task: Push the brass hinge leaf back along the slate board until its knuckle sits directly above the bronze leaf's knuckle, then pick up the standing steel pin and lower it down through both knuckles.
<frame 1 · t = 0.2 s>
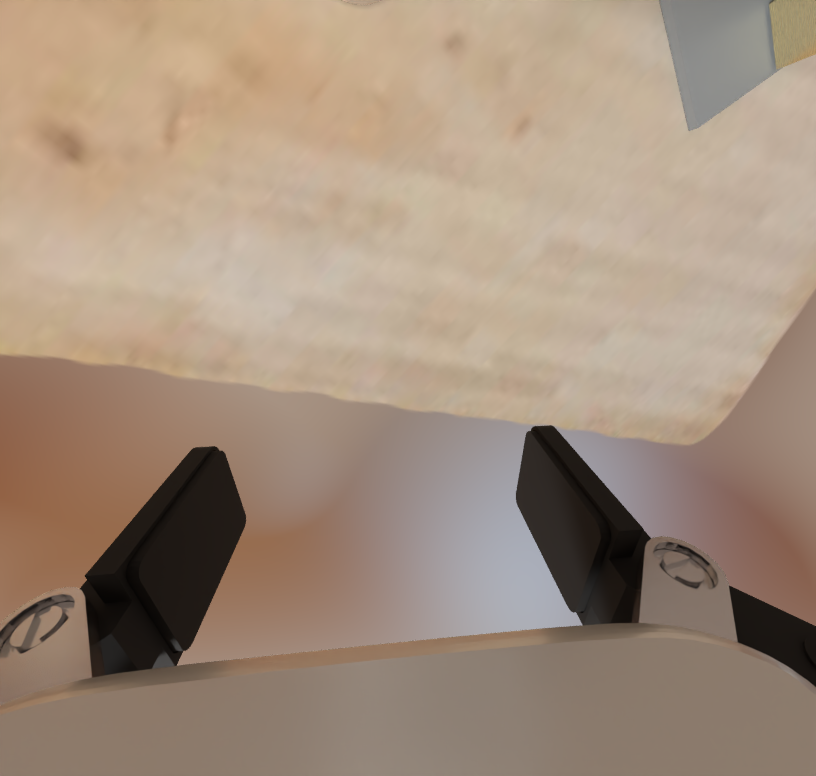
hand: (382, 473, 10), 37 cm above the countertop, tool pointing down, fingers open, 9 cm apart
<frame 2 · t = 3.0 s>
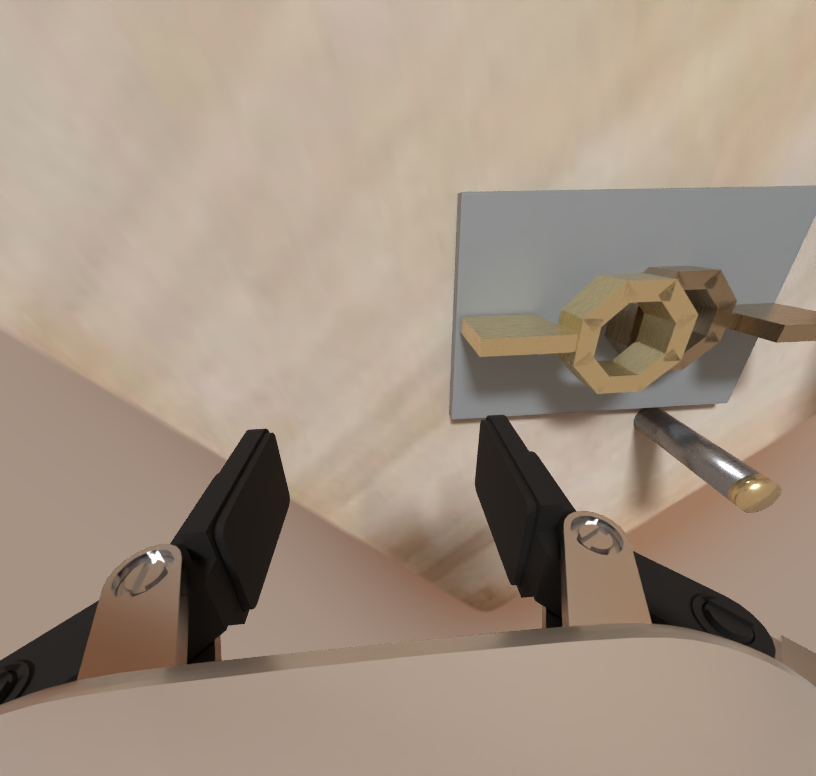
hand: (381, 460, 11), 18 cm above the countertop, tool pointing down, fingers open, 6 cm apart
slate board: (609, 313, 28), on the countertop
hinge pin: (647, 418, 33), on the countertop
loose leaf: (564, 330, 24), point 4 cm above the countertop, slide at 6.0 cm
fixed leaf: (642, 311, 28), resting on slate board
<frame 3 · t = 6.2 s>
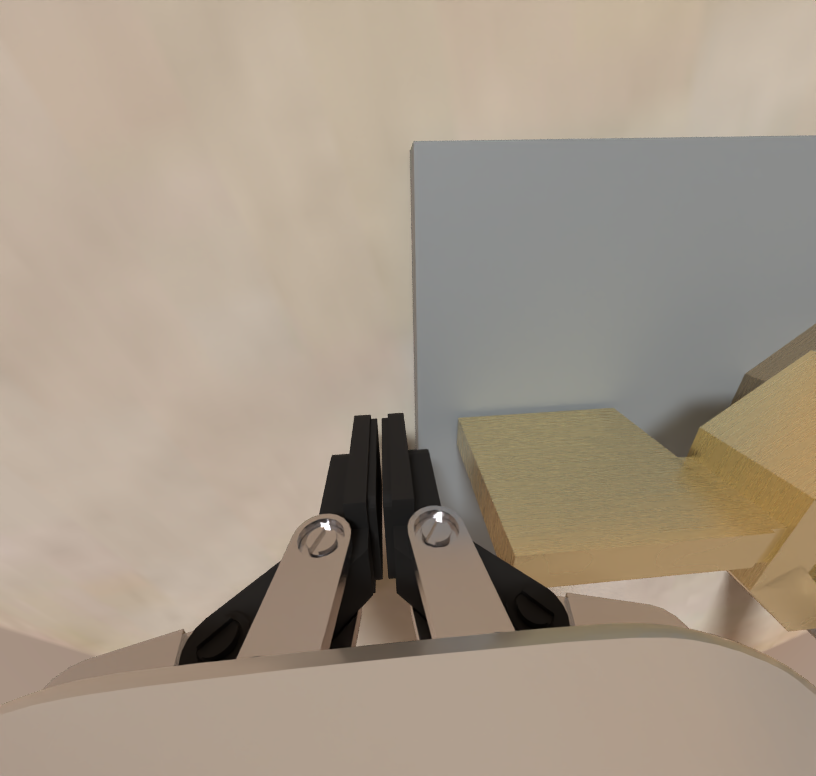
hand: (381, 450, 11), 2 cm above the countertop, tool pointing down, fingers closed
slate board: (719, 394, 14), on the countertop
loose leaf: (697, 467, 10), point 4 cm above the countertop, slide at 4.8 cm, touching gripper
fixed leaf: (782, 390, 15), resting on slate board
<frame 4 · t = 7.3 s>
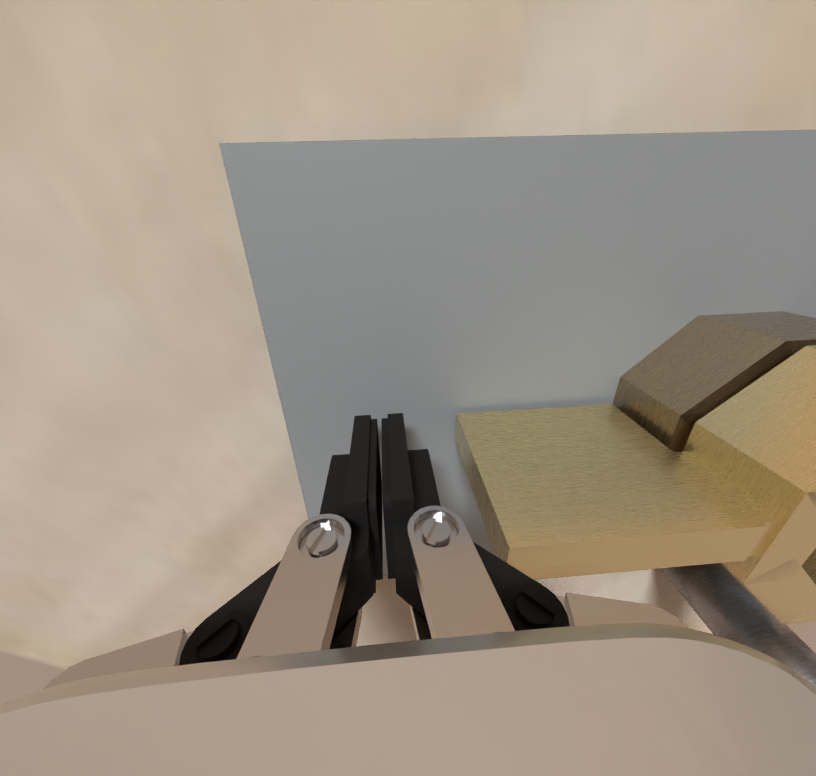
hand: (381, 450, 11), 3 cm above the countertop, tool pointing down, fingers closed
slate board: (610, 397, 14), on the countertop
hinge pin: (677, 551, 19), on the countertop
loose leaf: (693, 462, 10), point 4 cm above the countertop, slide at -0.1 cm, touching gripper
fixed leaf: (676, 392, 14), resting on slate board
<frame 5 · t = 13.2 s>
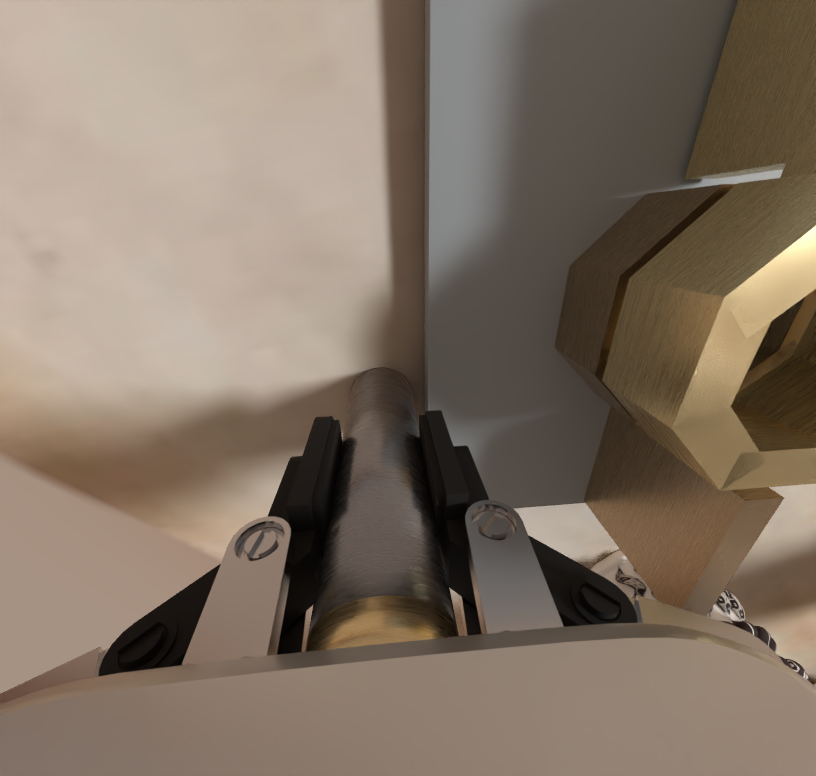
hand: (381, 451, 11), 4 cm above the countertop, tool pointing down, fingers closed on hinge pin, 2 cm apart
decorative candle: (631, 579, 23), on the countertop
slate board: (655, 220, 13), on the countertop
hinge pin: (381, 395, 15), on the countertop, touching gripper
loose leaf: (782, 209, 9), point 4 cm above the countertop, slide at 0.0 cm
fixed leaf: (633, 298, 14), resting on slate board
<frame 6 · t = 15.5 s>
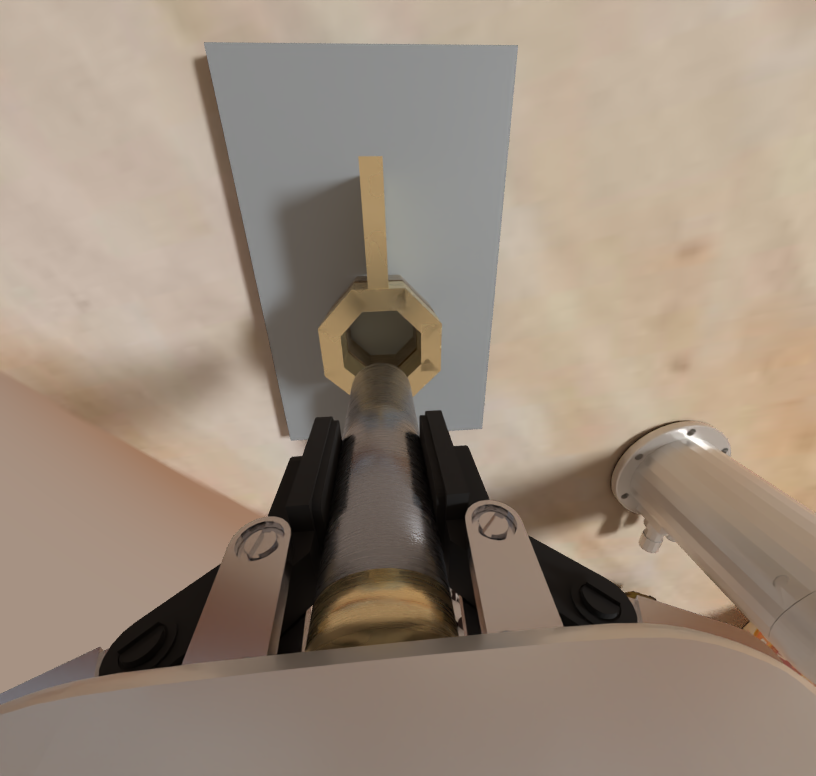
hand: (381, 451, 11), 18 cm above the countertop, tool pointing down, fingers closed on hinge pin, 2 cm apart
decorative candle: (445, 494, 37), on the countertop
slate board: (379, 283, 26), on the countertop
coffeecake box: (768, 616, 54), on the countertop
hinge pin: (381, 390, 15), point 13 cm above the countertop, touching gripper
loose leaf: (379, 291, 22), point 4 cm above the countertop, slide at 0.0 cm
fixed leaf: (381, 321, 27), resting on slate board
when the fingers open (8 cm above the countertop, at t = 17.8 s): hinge pin drops 2 cm, resting on slate board.
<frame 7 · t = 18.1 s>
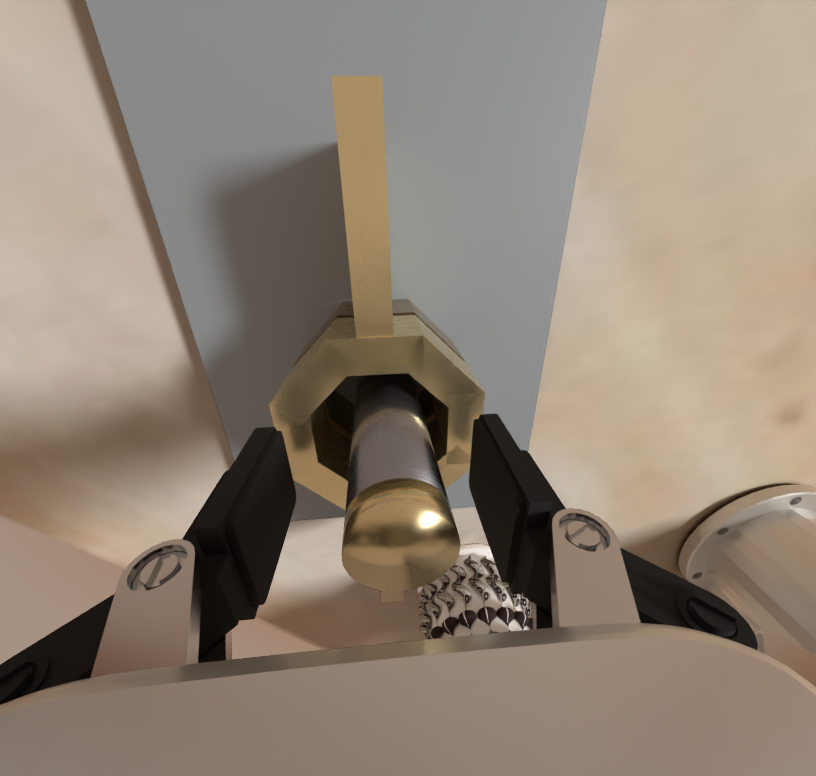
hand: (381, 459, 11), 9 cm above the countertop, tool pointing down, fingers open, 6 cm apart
decorative candle: (464, 575, 28), on the countertop
slate board: (377, 310, 17), on the countertop
hinge pin: (383, 371, 18), point 1 cm above the countertop, touching slate board
loose leaf: (376, 330, 13), point 4 cm above the countertop, slide at 0.0 cm
fixed leaf: (380, 363, 19), resting on slate board
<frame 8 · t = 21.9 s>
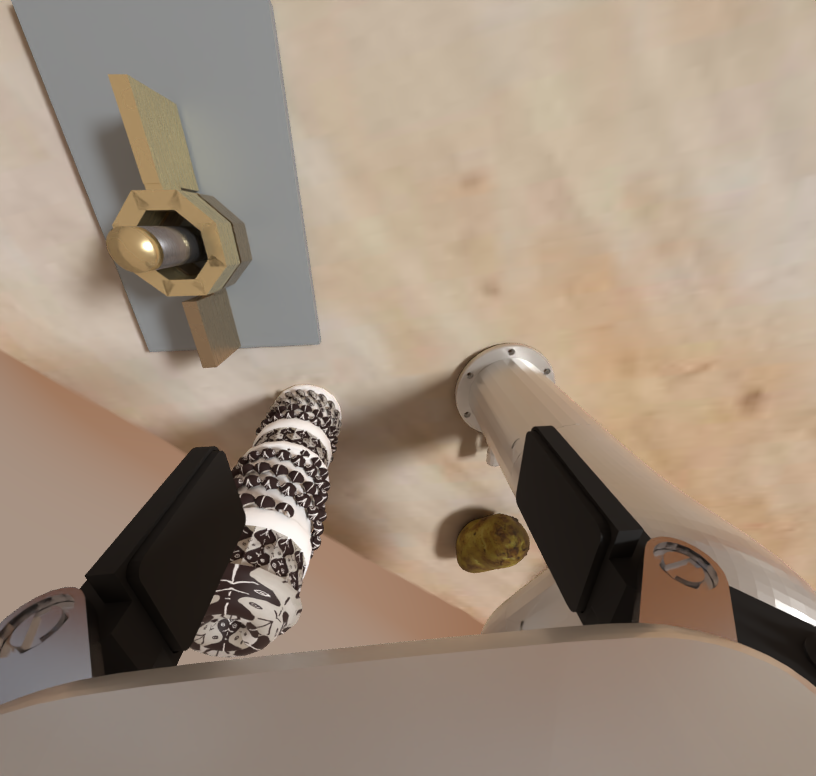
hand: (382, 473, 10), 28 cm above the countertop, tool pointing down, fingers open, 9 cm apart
decorative candle: (307, 413, 41), on the countertop
potato: (480, 523, 53), on the countertop
slate board: (204, 207, 31), on the countertop
hinge pin: (209, 242, 31), point 1 cm above the countertop, touching slate board
loose leaf: (178, 202, 27), point 4 cm above the countertop, slide at 0.0 cm
fixed leaf: (213, 242, 32), resting on slate board
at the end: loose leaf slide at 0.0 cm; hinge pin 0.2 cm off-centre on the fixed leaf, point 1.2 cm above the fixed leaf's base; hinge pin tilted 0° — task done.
